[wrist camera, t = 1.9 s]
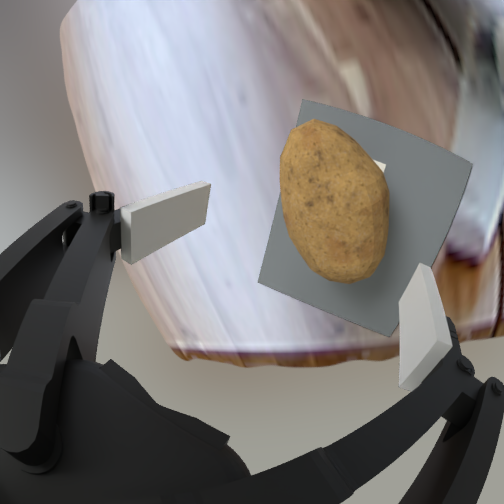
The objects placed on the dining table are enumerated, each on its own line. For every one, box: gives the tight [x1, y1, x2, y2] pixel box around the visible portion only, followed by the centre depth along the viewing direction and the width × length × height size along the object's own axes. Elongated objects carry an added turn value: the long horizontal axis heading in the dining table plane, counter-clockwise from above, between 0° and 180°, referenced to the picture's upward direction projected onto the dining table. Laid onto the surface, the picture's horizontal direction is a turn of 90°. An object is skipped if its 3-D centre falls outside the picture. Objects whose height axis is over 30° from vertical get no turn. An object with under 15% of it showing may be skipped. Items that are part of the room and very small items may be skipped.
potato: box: [280, 119, 389, 284], centre depth 23 cm, size 10×14×8 cm
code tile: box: [258, 99, 472, 337], centre depth 27 cm, size 22×18×1 cm
